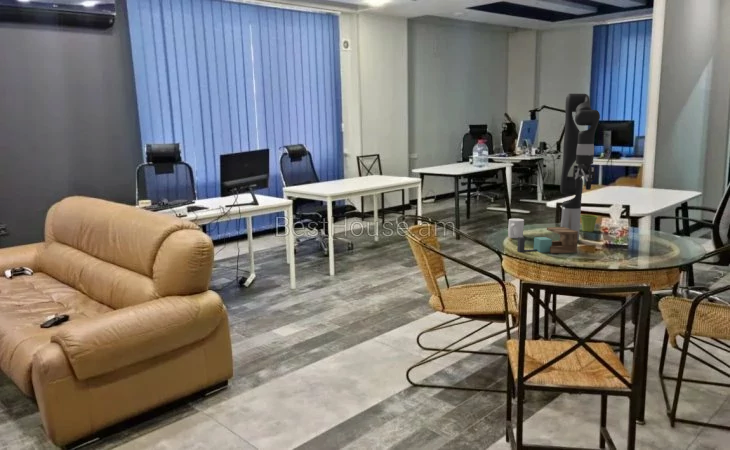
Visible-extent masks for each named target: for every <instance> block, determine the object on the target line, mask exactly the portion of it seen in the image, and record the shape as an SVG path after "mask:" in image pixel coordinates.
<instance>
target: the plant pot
mask: <svg viewBox="0 0 730 450" xmlns="http://www.w3.org/2000/svg"><path fill="white" fill-rule="evenodd" d="M598 218H599V216H598V215H592V214H581V215H580V222H581V230H582V232H588V233H594V231H595V227H596V222H597V220H598Z"/></svg>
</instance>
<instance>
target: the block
mask: <svg viewBox="0 0 730 450" xmlns="http://www.w3.org/2000/svg"><path fill="white" fill-rule="evenodd" d="M525 240H526V238H525V237H524V236H523V237H518V238H517V245H516V246H517V249H516V250H517V252H518V253H525V252H538V253H550V246H552V241H553V239H551V238H549V237H546V236H542V237H541V236H539V237H538V236H537V237H533V249H525V247H526V246H525V244H526V243H525V242H526V241H525Z"/></svg>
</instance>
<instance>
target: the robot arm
mask: <svg viewBox="0 0 730 450" xmlns="http://www.w3.org/2000/svg"><path fill="white" fill-rule="evenodd" d="M564 107H565V117H564V118H565V119H564V122H565V123H564V125H565V127H564V136H563V137H564V138H563V145H562V146H563V148H562V152H563V153H562V154H563V155H562V168H561V175H560V176H561V178H560V184H559V185H560V186H559V189H560V190H559V191H560V193H561V194H562V195H572V196H574V197H573V198H571V199H568V200H563V202H562V205H561V220H560V225H559V227H566V228H569V229H572V230H575V231H578V237H577V242H579V241H580V232H581V231H580V230H581V229H580V227H581V217H580V215H582V214H581V212H582V211H581V210H582V199H583V198H582V194H583V188H584V187H583V186H584V180H583V178H584V179H585V181H586V182H585V190H586V191H588V190H591V188H592V182H593V181H596V179H595V178H596V168H595V167H591V165H593V164H594V159H595V158H594V156H595V155H594V154H595V145H594V144H595V133H596V130H597V128H598V124H599V121H600V118H601V114H600V112H599V111H598V110H597V109H592V108H591V100H590V96H589V94H587V93H568V94H567V95H566V98H565V106H564ZM573 113H575V116H573ZM578 126H589V128H588V129H586V130H580V129H579V128H578ZM574 164H576V165H574ZM572 166H573V168H572ZM571 168H572V176H569V174H570V173H569V172H570V170H571ZM582 177H583V178H582Z"/></svg>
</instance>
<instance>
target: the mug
mask: <svg viewBox="0 0 730 450" xmlns="http://www.w3.org/2000/svg"><path fill="white" fill-rule="evenodd" d="M507 227H508V228H507V237H508V238H511V239H518V237H524V227H525V219H523V218H509V219H508V225H507Z"/></svg>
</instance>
